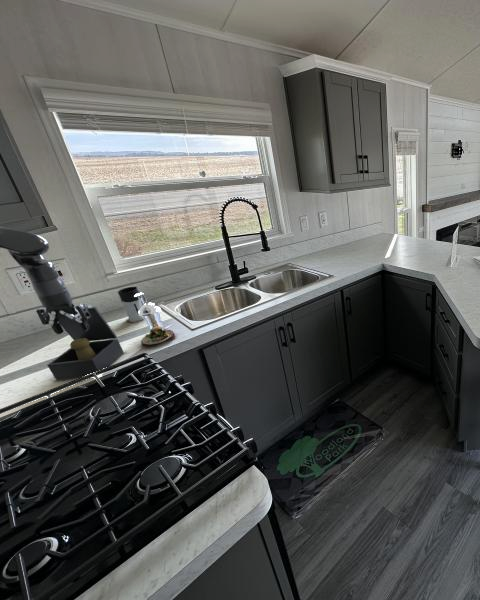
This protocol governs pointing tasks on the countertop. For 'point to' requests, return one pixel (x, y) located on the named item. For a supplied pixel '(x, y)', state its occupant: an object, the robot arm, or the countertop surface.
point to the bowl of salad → (157, 336)
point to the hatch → (96, 324)
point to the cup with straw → (150, 313)
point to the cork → (82, 349)
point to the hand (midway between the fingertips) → (73, 331)
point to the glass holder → (131, 302)
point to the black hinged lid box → (74, 368)
